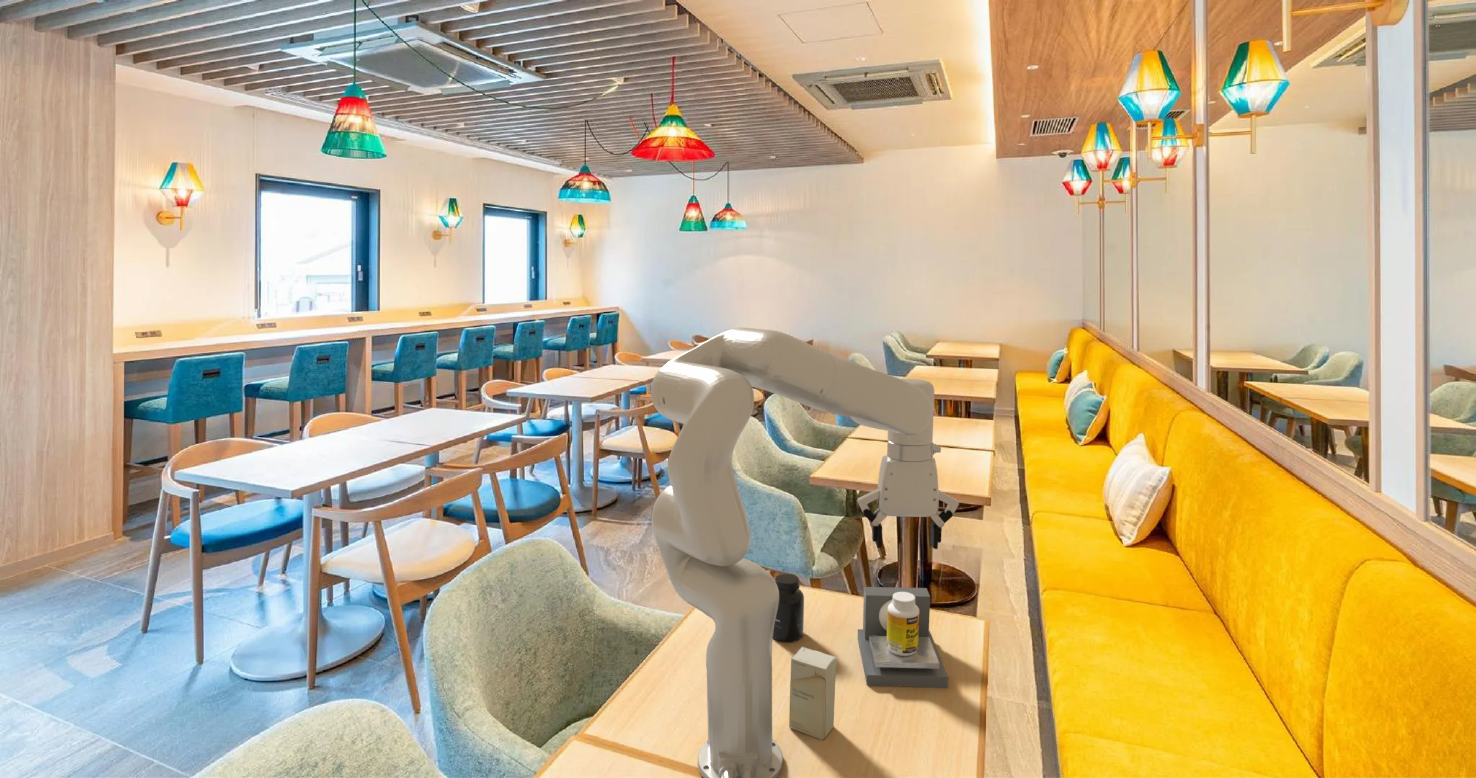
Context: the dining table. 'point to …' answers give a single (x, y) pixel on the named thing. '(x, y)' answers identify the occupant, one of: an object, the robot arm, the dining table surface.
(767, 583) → the robot arm
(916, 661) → the scale pan
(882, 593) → the scale base
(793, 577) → the supplement bottle
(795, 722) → the skincare box
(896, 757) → the dining table surface
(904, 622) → the supplement bottle
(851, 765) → the dining table surface
